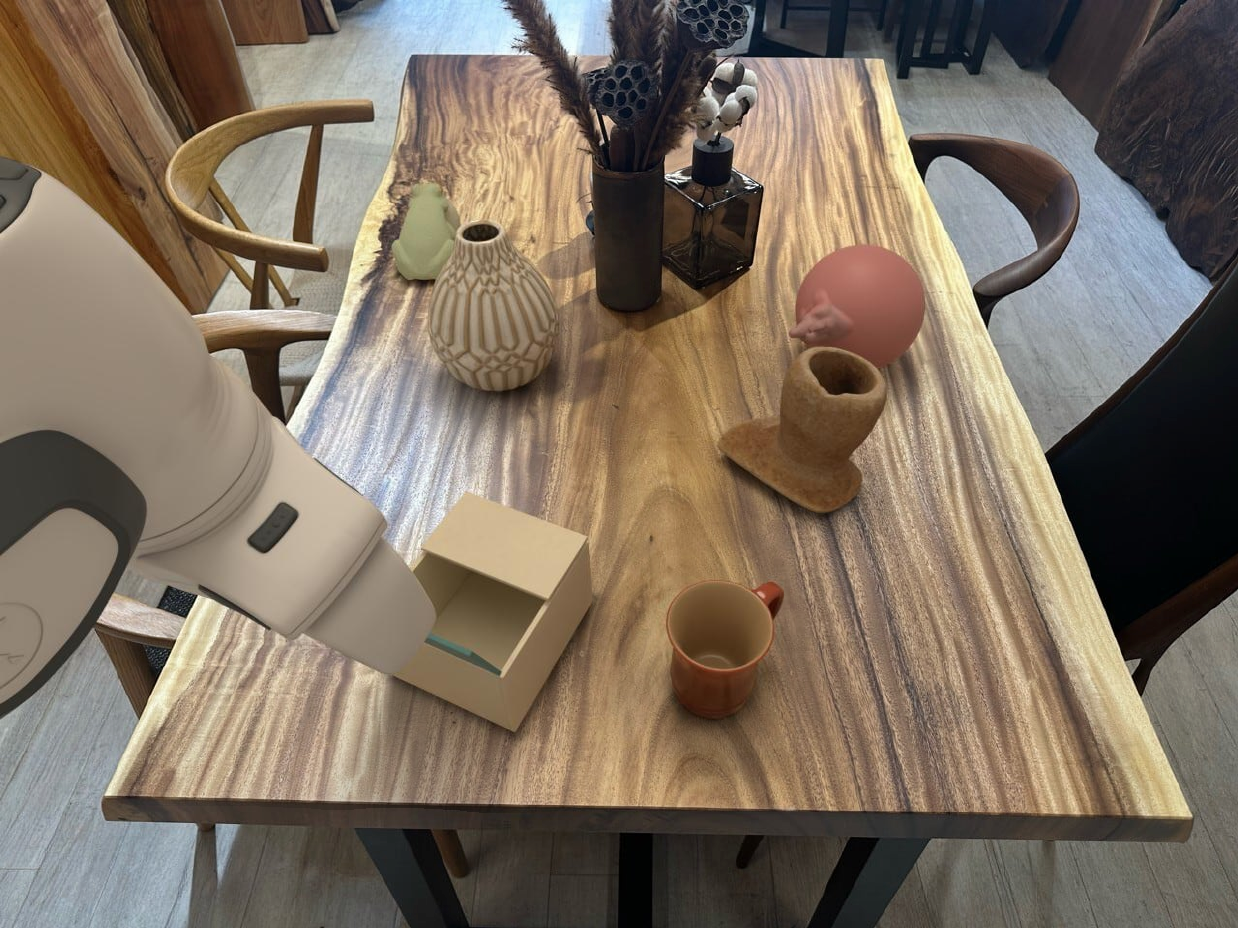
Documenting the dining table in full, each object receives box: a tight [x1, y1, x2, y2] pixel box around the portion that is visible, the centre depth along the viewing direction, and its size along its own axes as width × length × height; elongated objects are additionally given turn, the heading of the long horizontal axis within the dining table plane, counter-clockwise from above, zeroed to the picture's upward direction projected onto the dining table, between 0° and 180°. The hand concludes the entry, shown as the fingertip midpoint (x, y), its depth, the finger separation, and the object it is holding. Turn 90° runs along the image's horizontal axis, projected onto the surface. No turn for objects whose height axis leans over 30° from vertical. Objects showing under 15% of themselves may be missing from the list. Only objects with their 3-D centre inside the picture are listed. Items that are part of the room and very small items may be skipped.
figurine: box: [391, 182, 462, 281], centre depth 119 cm, size 10×16×10 cm, turn 179°
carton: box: [392, 491, 593, 733], centre depth 73 cm, size 15×13×10 cm
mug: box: [665, 579, 785, 720], centre depth 70 cm, size 12×9×10 cm
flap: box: [424, 633, 502, 676], centre depth 61 cm, size 7×13×1 cm
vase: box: [427, 218, 560, 392], centre depth 97 cm, size 16×16×20 cm
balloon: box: [788, 244, 926, 369], centre depth 99 cm, size 15×20×15 cm
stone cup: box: [716, 347, 888, 514], centre depth 86 cm, size 15×12×15 cm
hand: (313, 590), depth 48 cm, fingers closed
